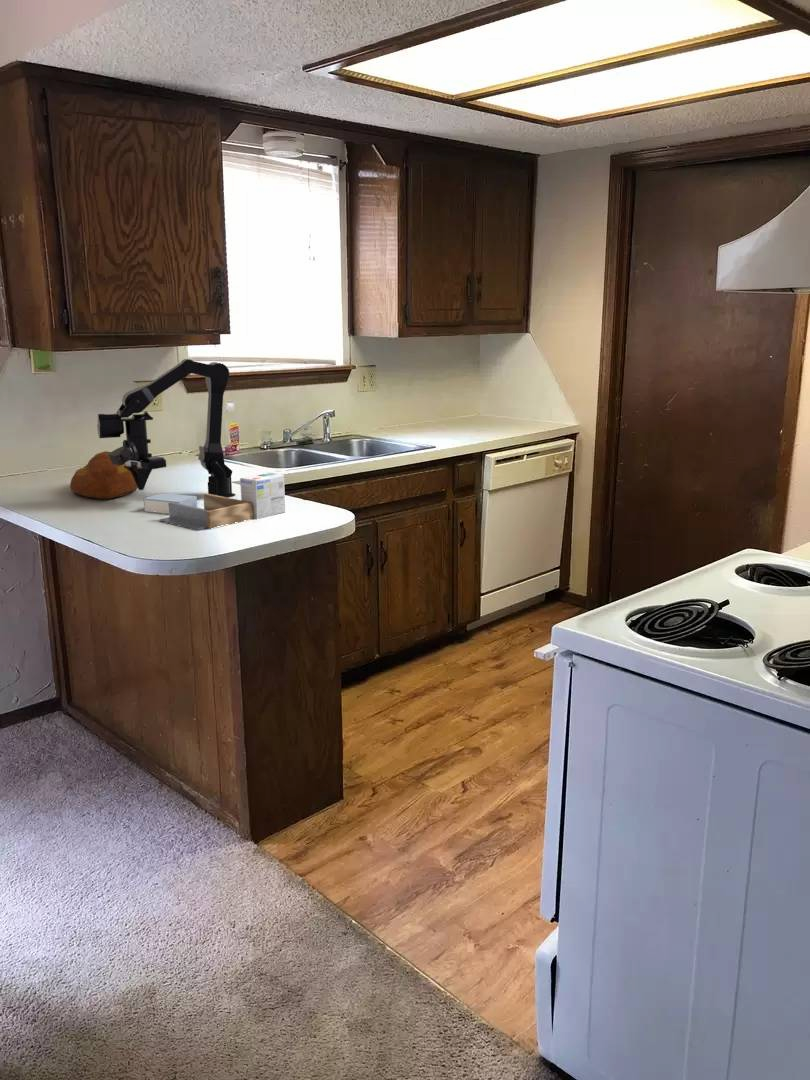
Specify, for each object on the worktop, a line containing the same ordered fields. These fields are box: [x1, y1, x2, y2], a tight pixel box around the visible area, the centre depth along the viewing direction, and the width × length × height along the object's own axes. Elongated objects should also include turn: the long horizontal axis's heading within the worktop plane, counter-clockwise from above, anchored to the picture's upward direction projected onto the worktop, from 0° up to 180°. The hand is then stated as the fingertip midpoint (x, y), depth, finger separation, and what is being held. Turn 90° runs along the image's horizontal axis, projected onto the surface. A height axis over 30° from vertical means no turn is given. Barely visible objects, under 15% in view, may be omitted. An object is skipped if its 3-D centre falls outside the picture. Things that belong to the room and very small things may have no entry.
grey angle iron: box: [159, 502, 210, 531], centre depth 224 cm, size 4×16×4 cm, turn 51°
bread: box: [69, 450, 138, 500], centre depth 265 cm, size 21×33×12 cm, turn 13°
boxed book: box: [143, 492, 198, 514], centre depth 241 cm, size 8×12×4 cm
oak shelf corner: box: [202, 492, 254, 529], centre depth 231 cm, size 14×19×4 cm
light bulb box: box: [239, 472, 286, 520], centre depth 235 cm, size 11×7×11 cm, turn 141°
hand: (141, 489), depth 249 cm, fingers closed
